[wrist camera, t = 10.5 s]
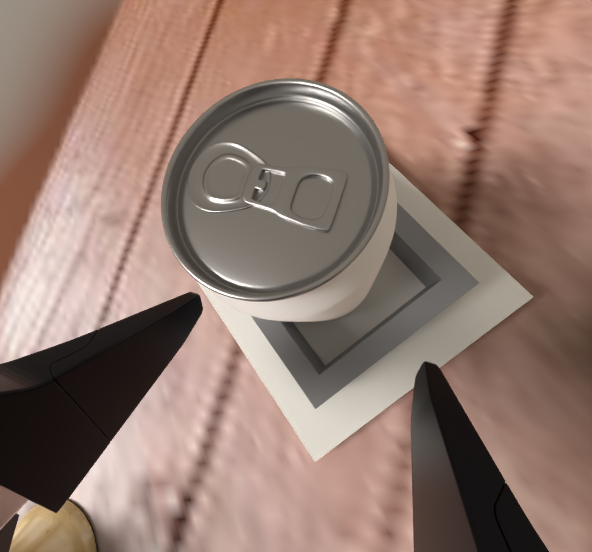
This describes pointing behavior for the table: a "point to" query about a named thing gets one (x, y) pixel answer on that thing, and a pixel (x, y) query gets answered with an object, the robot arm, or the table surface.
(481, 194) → the table surface
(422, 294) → the socket board
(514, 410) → the table surface
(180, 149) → the can
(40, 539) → the hand bell
